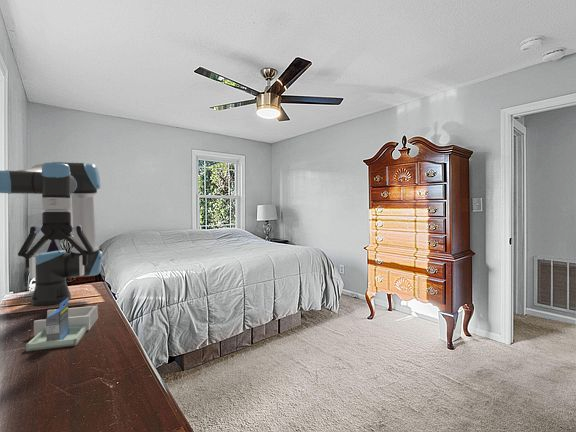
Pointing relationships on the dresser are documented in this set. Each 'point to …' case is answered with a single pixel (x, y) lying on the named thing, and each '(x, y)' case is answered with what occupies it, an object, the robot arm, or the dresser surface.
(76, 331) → the tray
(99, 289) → the dresser surface
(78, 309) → the bay
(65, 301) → the blue cardboard package
